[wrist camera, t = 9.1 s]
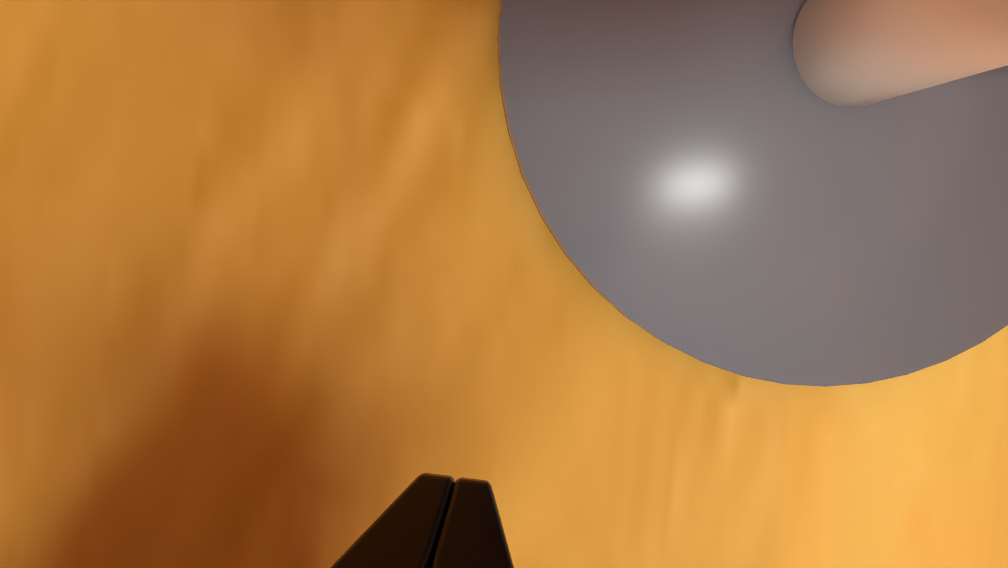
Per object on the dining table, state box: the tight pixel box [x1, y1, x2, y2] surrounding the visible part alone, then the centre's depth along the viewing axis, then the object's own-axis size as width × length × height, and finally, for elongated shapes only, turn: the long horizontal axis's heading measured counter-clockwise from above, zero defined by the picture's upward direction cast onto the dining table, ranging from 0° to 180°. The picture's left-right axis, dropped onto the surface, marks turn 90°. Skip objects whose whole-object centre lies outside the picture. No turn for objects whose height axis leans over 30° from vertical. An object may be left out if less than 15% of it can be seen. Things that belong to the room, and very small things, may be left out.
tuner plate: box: [498, 0, 1008, 386], centre depth 18 cm, size 20×20×1 cm
